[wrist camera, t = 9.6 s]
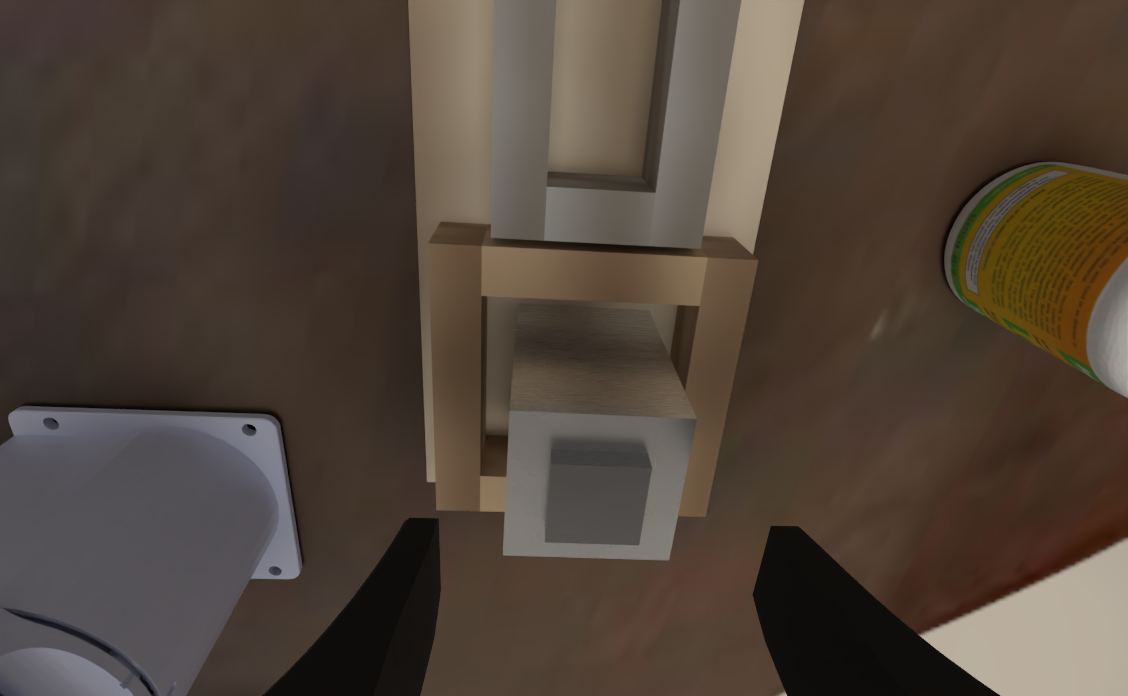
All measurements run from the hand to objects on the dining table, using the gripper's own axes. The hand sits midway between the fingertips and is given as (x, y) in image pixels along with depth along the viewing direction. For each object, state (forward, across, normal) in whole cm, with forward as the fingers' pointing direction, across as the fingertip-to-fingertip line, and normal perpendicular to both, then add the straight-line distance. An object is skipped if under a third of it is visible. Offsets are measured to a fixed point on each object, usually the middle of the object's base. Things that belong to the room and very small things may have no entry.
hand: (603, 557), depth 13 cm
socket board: (+10, 0, -5) cm, 12 cm away
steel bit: (+9, 0, 0) cm, 9 cm away
